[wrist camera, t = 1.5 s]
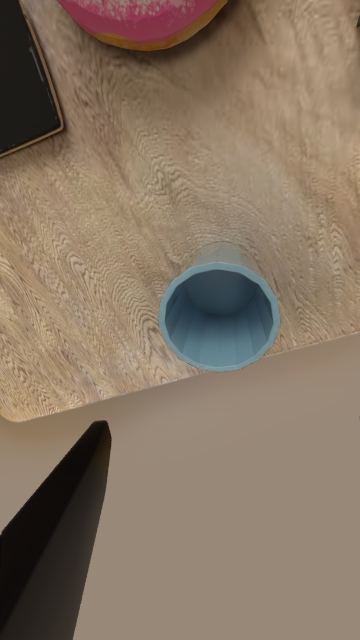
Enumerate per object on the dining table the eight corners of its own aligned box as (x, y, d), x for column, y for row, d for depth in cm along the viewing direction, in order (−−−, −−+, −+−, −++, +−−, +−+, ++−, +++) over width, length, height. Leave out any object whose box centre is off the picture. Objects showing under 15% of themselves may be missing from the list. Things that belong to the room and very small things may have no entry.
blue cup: (269, 248, 20) (297, 275, 12) (248, 322, 24) (260, 381, 15) (188, 235, 21) (164, 253, 13) (178, 309, 24) (154, 359, 16)
